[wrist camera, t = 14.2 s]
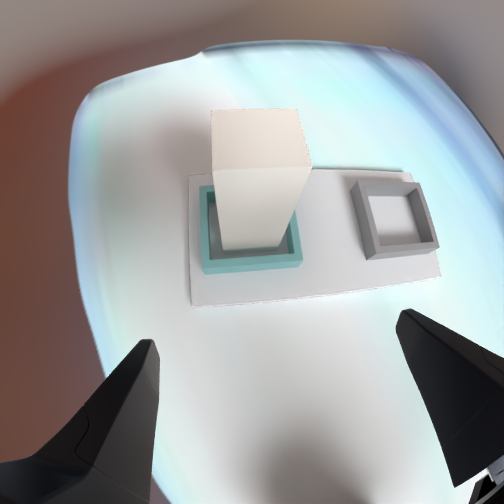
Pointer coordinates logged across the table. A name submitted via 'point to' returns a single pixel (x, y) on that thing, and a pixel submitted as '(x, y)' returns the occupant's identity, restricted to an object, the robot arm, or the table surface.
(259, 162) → the plug
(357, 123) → the table surface
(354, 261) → the socket board
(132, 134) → the table surface
